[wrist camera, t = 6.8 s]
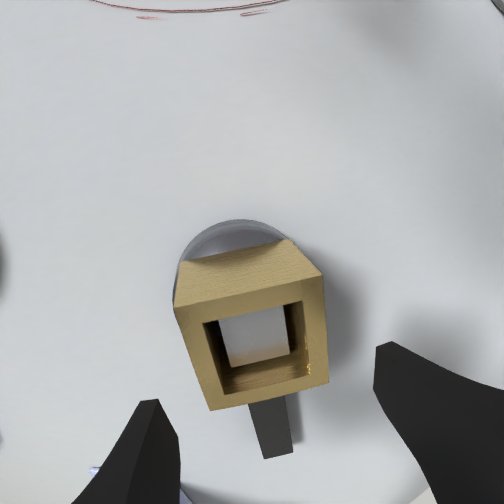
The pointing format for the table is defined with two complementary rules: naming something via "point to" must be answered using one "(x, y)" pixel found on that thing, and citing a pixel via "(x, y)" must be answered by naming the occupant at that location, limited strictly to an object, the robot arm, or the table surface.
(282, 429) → the ratchet
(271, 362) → the open wooden box
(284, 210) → the table surface
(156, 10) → the figurine
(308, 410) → the table surface
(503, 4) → the travel mug
